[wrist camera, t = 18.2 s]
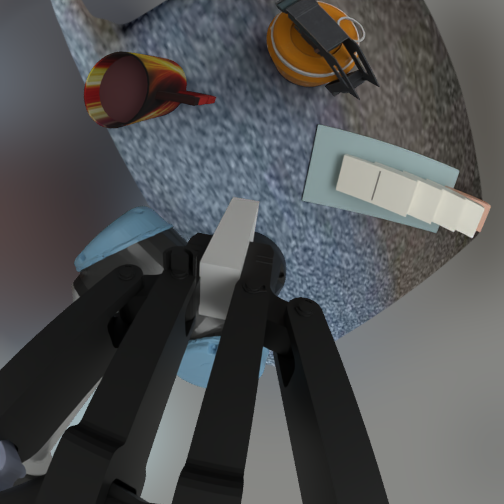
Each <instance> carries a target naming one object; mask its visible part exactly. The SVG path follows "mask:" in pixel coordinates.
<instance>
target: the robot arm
mask: <svg viewBox="0 0 504 504" xmlns="http://www.w3.org/2000/svg"><path fill="white" fill-rule="evenodd" d="M258 207H259V201H253V200H248V199H242V198H236V197H233V198H232V200H231V202H230V204H229V206H228V208H227V210H226V212H225V214H224V215H223V217H222V219H221V221H220V223H219V225H218V227H217V229H216V231H215V233H214V235H208V234H202V233H197V234H196V235H194V236H192V237H191V238H190V240H189V242H187V241H186V240H185V239H183V238H182V237H181V236H180V235H179V234H178V233H177V232H176V231H175V230H174V229H173V227H174V226H173V225H172V224H168V223H167V222H166V221H165V220H164V219H163V218H162V217H160V216H159V215H158V214H157V213H156V212H155V211H154V210H152V209H151V208H149V207H146V206H139V207H135V208H133V209H131V210H129V211H128V212H126V213H125V214H123V215H122V216H120V217H119V218H118V219H116V220H115V221H114V222H112V223H111V224H110V225H109V226H107V227H106V228H105V229H104V230H103V231H102V232H100V233H99V234H98V235H97V236H96V237H95V238H94V239H93V240H92V241H91V242H90V243H89V244H88V245H87V246H86V247H85V248H84V250H83V251H82V252H81V253H80V254H79V255H78V256H77V258H76V259H75V262H74V265H75V266H76V270H77V271H78V272H81V273H80V275H79V276H78V277H77V278H76V280H75V281H74V282H73V284H72V295H73V303H72V304H71V305H70V306H69V307H67V308H66V309H65V310H64V311H63V312H62V313H61V314H59V315H58V316H57V317H56V318H55V319H54V320H53V321H51V322H50V323H49V324H48V325H47V326H46V327H45V328H44V329H43V330H42V331H40V332H39V333H38V334H37V335H36V336H35V337H34V338H33V339H32V340H31V341H30V342H29V343H27V344H26V345H25V346H24V347H23V348H22V349H21V350H20V351H19V352H18V353H17V354H16V355H15V356H14V357H13V358H12V359H11V360H10V361H9V362H8V363H7V364H6V365H5V366H4V367H3V368H2V369H1V370H0V504H155V503H149V502H147V501H145V500H143V499H142V498H140V496H141V493H142V490H143V486H144V482H145V477H146V464H147V460H148V457H149V454H150V451H151V448H152V445H153V442H154V439H155V436H156V433H157V430H158V427H159V424H160V421H161V418H162V415H163V412H164V410H165V406H166V403H167V401H168V398H169V395H170V392H171V389H172V386H173V384H174V381H175V378H176V375H178V376H179V377H180V378H182V379H183V380H185V381H187V382H189V383H191V384H194V385H197V386H200V387H203V388H206V391H205V395H204V398H203V402H202V406H201V410H200V413H199V417H198V420H197V424H196V427H195V431H194V435H193V438H192V442H191V446H190V450H189V453H188V457H187V460H186V463H185V466H184V467H183V469H182V471H181V473H180V476H179V479H178V482H177V486H176V490H175V493H174V497H173V501H172V504H241V499H242V493H243V485H244V484H243V483H244V479H243V476H244V469H245V463H246V457H247V451H248V445H249V439H250V432H251V426H252V420H253V413H254V406H255V400H256V393H257V386H258V380H259V378H260V377H261V375H262V373H263V371H264V368H265V363H266V358H267V356H268V353H269V350H272V351H273V355H274V360H275V366H276V371H277V375H278V380H279V385H280V390H281V396H282V401H283V406H284V411H285V416H286V421H287V426H288V431H289V436H290V441H291V446H292V451H293V456H294V461H295V466H296V471H297V476H298V481H299V487H300V491H301V497H302V502H303V504H389V502H388V499H387V495H386V492H385V488H384V485H383V482H382V479H381V475H380V472H379V468H378V465H377V462H376V459H375V455H374V452H373V449H372V446H371V443H370V440H369V437H368V434H367V431H366V428H365V425H364V422H363V419H362V416H361V413H360V410H359V407H358V404H357V402H356V399H355V396H354V393H353V390H352V387H351V385H350V382H349V379H348V376H347V374H346V371H345V368H344V366H343V363H342V360H341V358H340V355H339V352H338V350H337V347H336V345H335V342H334V339H333V337H332V334H331V331H330V329H329V326H328V324H327V321H326V319H325V316H324V314H323V311H322V309H321V307H320V306H319V305H318V304H317V303H316V302H315V301H313V300H310V299H308V298H302V297H299V298H294V299H292V300H290V301H289V302H287V301H285V300H283V299H281V298H279V297H277V296H278V295H279V293H280V291H281V290H282V288H283V286H284V283H285V279H286V262H285V258H284V256H283V254H282V252H281V250H280V249H279V248H278V246H277V245H276V244H275V243H274V242H273V241H271V240H270V239H269V238H267V237H266V236H264V235H262V234H259V233H257V232H255V226H256V220H257V213H258ZM97 386H98V387H97ZM96 388H97V389H96ZM95 389H96V391H95V393H94V395H93V397H92V399H91V401H90V403H89V405H88V407H87V409H86V411H85V414H84V416H83V418H82V420H81V421H80V423H79V424H78V425H75V426H71V427H69V428H68V429H67V430H66V428H67V427H68V426H69V424H70V423H71V421H72V420H73V419H74V417H75V416H76V415H77V413H78V412H79V410H80V409H81V408H82V406H83V405H84V404H85V402H86V401H87V400H88V398H89V397H90V396H91V394H92V393H93V392H94V390H95ZM64 431H65V432H64ZM63 433H64V434H63ZM62 434H63V435H62ZM61 435H62V438H61V439H60V442H59V444H58V446H57V448H56V451H55V453H54V455H53V458H52V456H51V453H50V451H51V450H52V448H53V447H54V445H55V444H56V442H57V441H58V440H59V438H60V437H61Z"/></svg>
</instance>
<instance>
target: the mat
mask: <svg viewBox="0 0 504 504" xmlns="http://www.w3.org/2000/svg"><path fill="white" fill-rule="evenodd" d="M345 154H349V155H352V156H355V157H358V158H361V159H364V160H367V161H370V162H373V163H375V162H378V163H381V164H384V165H386V166H389V167H392V168H394V169H397V170H399V171H402V172H403V170H404V171H406V172H409V173H411V174H414V175H416V176H418V177H421V178H423V179H425V180H426V179H429V180H432V181H434V182H436V183H438V184H441V185H443V186H445V185H446V186H448V187H451V188H454V185H455V182H456V179H457V176H458V173H459V170H457V169H455V168H453V167H450V166H448V165H446V164H443V163H441V162H438V161H436V160H433V159H431V158H428V157H426V156H423V155H420V154H418V153H415V152H412V151H409V150H407V149H404V148H401V147H398V146H395V145H392V144H389V143H386V142H383V141H379V140H376V139H373V138H369V137H366V136H362V135H359V134H355V133H352V132H348V131H344V130H340V129H336V128H332V127H328V126H323V125H319V124H318V127H317V132H316V137H315V142H314V147H313V152H312V157H311V161H310V166H309V171H308V175H307V180H306V185H305V189H304V194H303V198H302V201H307V202H312V203H316V204H321V205H326V206H331V207H335V208H340V209H344V210H349V211H353V212H357V213H362V214H366V215H370V216H374V217H378V218H382V219H386V220H390V221H394V222H398V223H402V224H405V225H409V226H413V227H416V228H420V229H424V230H427V231H431V232H434V233H437V230H438V228H439V225H438V224H436V223H434V222H431V224H429V223H426V222H424V221H422V220H420V219H417V218H415V217H413V216H410V215H408V214H407V215H406V217H404V216H401V215H399V214H397V213H394V212H392V211H389V210H387V209H384V208H382V207H379V206H377V205H374V204H372V203H369V202H367V201H364V200H361V199H359V198H356V197H353V196H351V195H348V194H345V193H343V192H340V191H337V190H336V186H337V182H338V178H339V174H340V170H341V166H342V162H343V158H344V155H345Z"/></svg>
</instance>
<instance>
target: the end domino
mask: <svg viewBox="0 0 504 504" xmlns="http://www.w3.org/2000/svg"><path fill="white" fill-rule="evenodd" d="M445 187H447V188H449V189H451V190H453V191H455V192H457V193H459V194H461V195H463V196H465V197H467V198H469V199H471V200H473V201H475V202H477V203H479V204H481V205H483V207H484V208H485V210H484V212H483V215H482V217H481V219H480V222H479V224H478V227H477V229H476V231H479V232H481V229H482V227H483V225H484V222H485V220H486V217H487V215H488V212H489V210H490V207H491V206H490V205H489V204H488V203H487V202H485V201H483V200H480V199H478V198H476V197H473V196H471V195H469V194H466V193H464V192H461V191H459V190H456V189H454V188H451V187H448V186H446V185H445Z"/></svg>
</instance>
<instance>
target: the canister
mask: <svg viewBox="0 0 504 504" xmlns="http://www.w3.org/2000/svg"><path fill="white" fill-rule="evenodd" d="M276 5H277V7H278V8H279V9H280V10H281V12H280V13H279V14H278V15H277V16H276V17H275V18H274V19H273V20H272V22H271V24H270V26H269V28H268V32H267V47H268V51H269V53H270V56H271V58H272V60H273V62H274V64H275V66H276V68H277V70H278V71H279V73H280V74H281V75H282V76H283V77H284V78H285V79H287V80H288V81H289V82H291V83H293V84H296V85H299V86H303V87H315V86H319V85H322V84H325V83H328V82H330V83H329V84H327V85H326V86H325V87H326V88H327V89H328V90H329V91H330V92H331V93H332V95H333V96H336V95H337V94H339V93H340V92H342V93H348V92H349V93H350V94H352V95H353V96H354V97H356V98H357V99H359V100H360V98H359V96H358V95H357V93H356V91H355V89H354V88H356V87H357V86H359V85H360V84H362V83H364V82H365V80H367V81H369V82H371V83H373V84H374V85H376V86H378V87H380V86H379V84H378V82H377V80H376V77H375V75H374V73H373V71H372V69H371V67H370V66H369V64H368V62H367V60H366V58H365V56H364V54H363V52H362V51H361V49H360V47H359V42H361V41H362V40H364V38H365V31H364V29H363V27H362V26H361V24H360V23H359V22H357V21H356V20H354V19H353V18H350V17H348V16H347V15H346V14H345V13H344V12H342V11H341V10H340V9H338V8H336V7H334V6H333V5H330V4H327V3H324V2H320V1H316V0H279V1H277V2H276ZM352 21H353V22H354V23H356V24H357V25H358V26H359V27H360V29H361V31H362V38H361V39H360V40H359V35H358V32H357V29H356V27H355V25H354V23H353V22H352ZM358 56H359V58H360V60H361V61H362V63H363V65H364V67H365V69H366V71H367V73H366V72H365V70H364V68H363V67H362V65H361V63H360V62H359V60H358ZM355 64H356V66H357V68H358V69H359V70H357V71H354V72H351V73H348V72H349V71H350V70H351V69H352V68H353V66H354V65H355ZM347 73H348V74H347Z"/></svg>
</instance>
